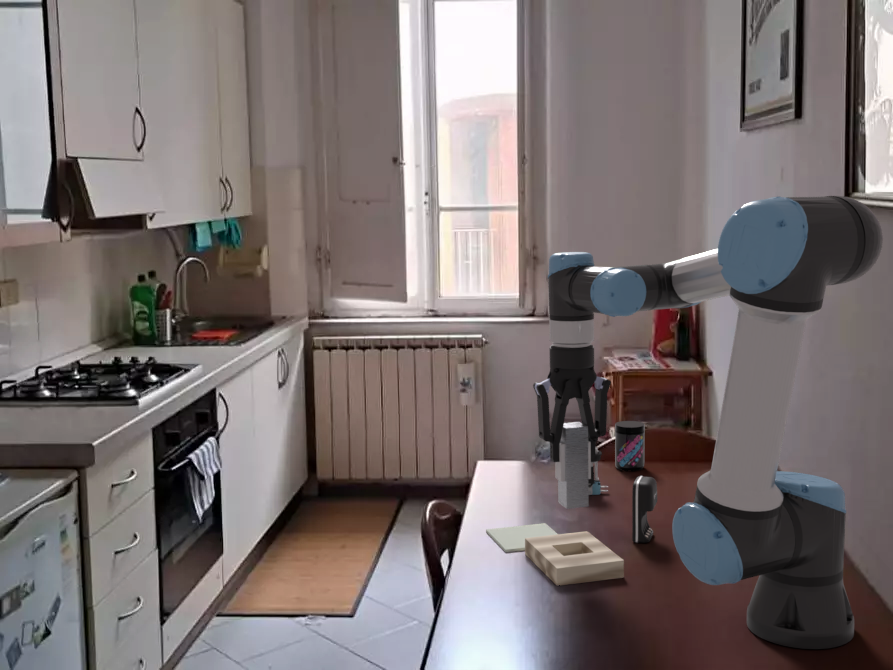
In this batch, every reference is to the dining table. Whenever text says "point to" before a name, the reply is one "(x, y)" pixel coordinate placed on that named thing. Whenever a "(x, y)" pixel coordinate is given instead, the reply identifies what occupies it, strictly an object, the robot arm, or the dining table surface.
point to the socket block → (574, 558)
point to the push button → (595, 484)
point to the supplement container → (629, 445)
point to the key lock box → (643, 507)
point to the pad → (518, 535)
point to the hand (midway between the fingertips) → (573, 478)
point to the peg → (575, 466)
